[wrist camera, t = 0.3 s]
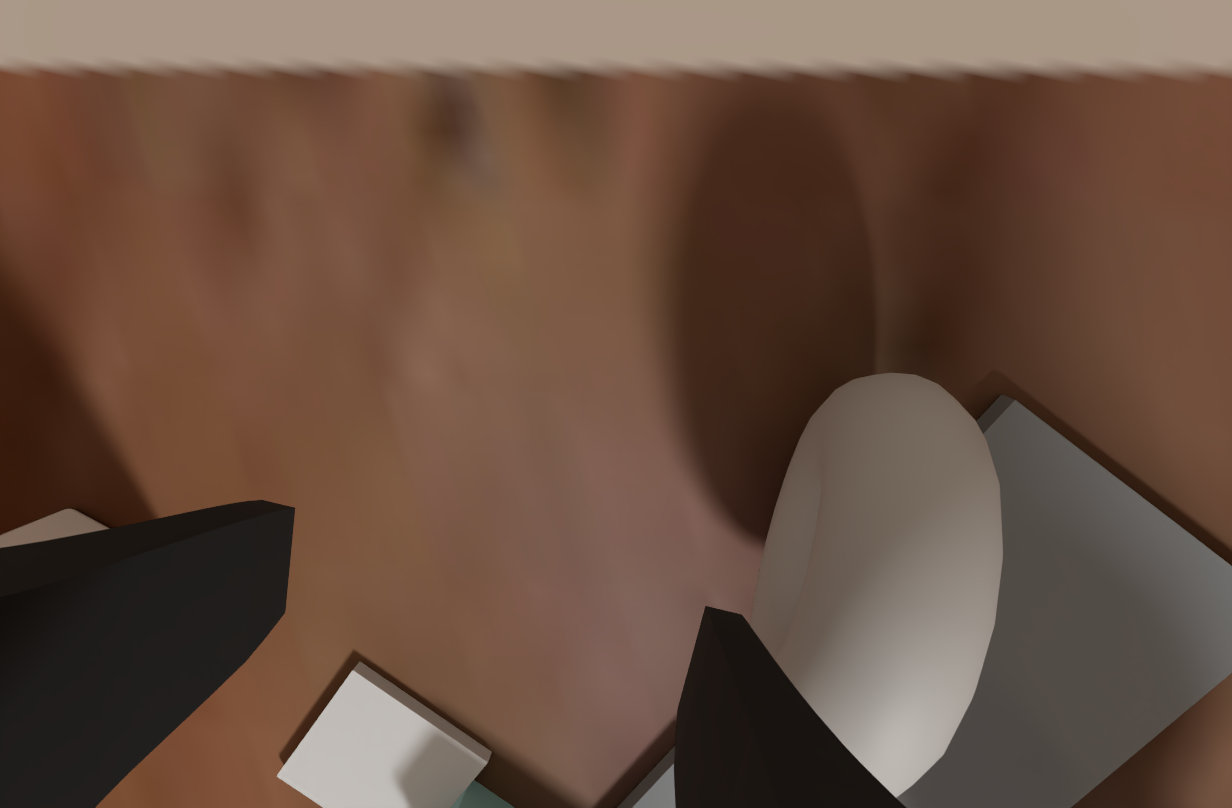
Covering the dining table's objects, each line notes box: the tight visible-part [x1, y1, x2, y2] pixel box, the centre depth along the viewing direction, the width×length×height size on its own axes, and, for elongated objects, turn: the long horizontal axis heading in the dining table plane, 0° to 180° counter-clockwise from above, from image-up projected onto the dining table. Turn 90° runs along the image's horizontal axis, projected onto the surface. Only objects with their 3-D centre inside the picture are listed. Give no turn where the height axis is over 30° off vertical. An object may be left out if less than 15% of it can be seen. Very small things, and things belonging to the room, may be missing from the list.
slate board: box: [617, 394, 1232, 808], centre depth 22 cm, size 11×22×1 cm, turn 144°
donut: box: [750, 373, 1003, 798], centre depth 15 cm, size 10×3×10 cm, turn 167°
